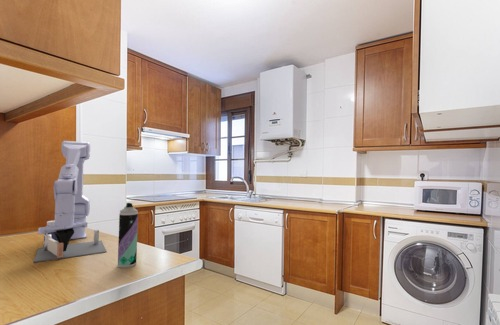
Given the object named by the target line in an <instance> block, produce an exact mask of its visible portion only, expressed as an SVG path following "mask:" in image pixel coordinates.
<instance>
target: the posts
mask: <svg viewBox="0 0 500 325" xmlns="http://www.w3.org/2000/svg"><path fill="white" fill-rule="evenodd" d="M48 238H52V234H47V235H45V246H44V245H43V247H44V251H49V250H47V246H48ZM99 238H100V229H94V230H93V241H94V245H96V244H98V243H99V241H100V239H99Z"/></svg>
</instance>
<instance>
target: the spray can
mask: <svg viewBox="0 0 500 325" xmlns="http://www.w3.org/2000/svg"><path fill="white" fill-rule="evenodd" d="M138 211H139V210H138V209H136V208H135V207H134V205H133V203H131V202H126V204H125V206H124V208H122V209H120V210H119V214H118V215H119V217H118V218H119V220H118V244H117V245H118V248H117V249H118V250H117V267H118V268H121V269H126V268H132V267H134V266H136V265H137V258H138V257H137V256H138V255H137V250H138V225H139V224H138V222H139V221H138V220H139V212H138Z"/></svg>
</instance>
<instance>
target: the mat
mask: <svg viewBox="0 0 500 325" xmlns="http://www.w3.org/2000/svg"><path fill="white" fill-rule="evenodd" d="M104 253H108V252H107V249H106V246H105V245H104V243H103V241H102V240H99V243H98V244H96V245H94V240H93V241H86V242H85V241H84V242H77V243H68V246H67V249H66V251H64V252H63V257H60V258H57V256H56V255H55V254H53V253H52V252H50V251H44V246H43V247H38V248H37V252H36V254H35V257H34V259H33V262H32V263H33V264H35V263H40V262H41V263H42V262H48V261H56V260H64V259H71V258H77V257H83V256H88V255H89V256H90V255H91V256H92V255H97V254H98V255H99V254H104Z"/></svg>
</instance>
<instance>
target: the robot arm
mask: <svg viewBox="0 0 500 325" xmlns="http://www.w3.org/2000/svg"><path fill="white" fill-rule="evenodd" d="M60 148H61V151H60V152H61V154H62V155H63V158H65V164H63V165H62V166H61V167H60V171H59V175H58V177H57V180H55V181H54V184H53V194H54V195H53V197H54V203H55V204H54V220H55V222H54V225H52V226H47V225H46V226H44V227H43V226H42V227H38V229H37V230H38V231H37V234H38V235H44V233H50V232H54V235H55V236H56V238H57V240H58V242H59V243H63V252H64V251H66V249H67V246H68V244H70V243H69V242H70V241H71V240H75V239H76V240H77V239H83V238H87V233H86V228H88V222H87V221H86V220H87V219H86V217H88V216H89V215H90V199H89V198H88V197H86V196H85V195H83V193H84V190H83V188H84V164H85V161H88V160H89V159H90V157H91V143H90V142H89V141H72V140H63V141H62V142H61V147H60Z"/></svg>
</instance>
